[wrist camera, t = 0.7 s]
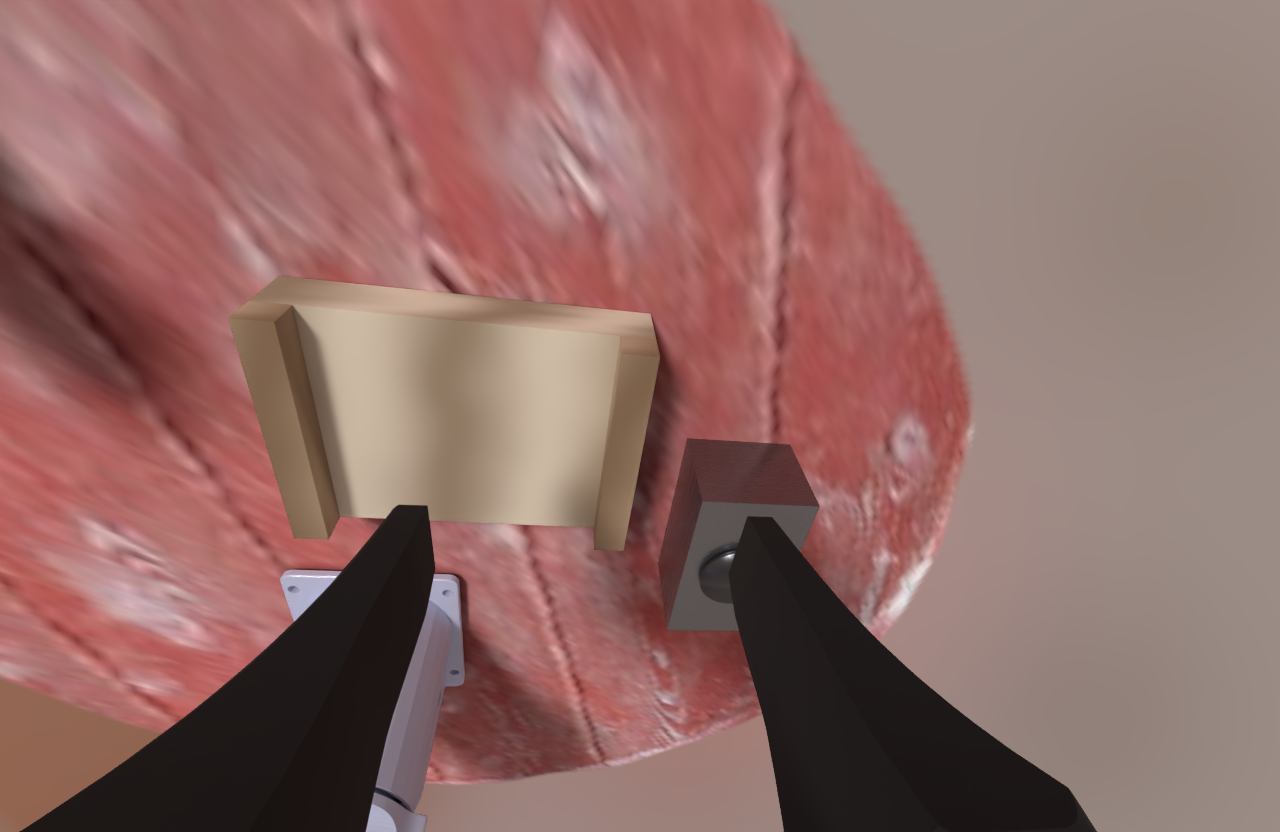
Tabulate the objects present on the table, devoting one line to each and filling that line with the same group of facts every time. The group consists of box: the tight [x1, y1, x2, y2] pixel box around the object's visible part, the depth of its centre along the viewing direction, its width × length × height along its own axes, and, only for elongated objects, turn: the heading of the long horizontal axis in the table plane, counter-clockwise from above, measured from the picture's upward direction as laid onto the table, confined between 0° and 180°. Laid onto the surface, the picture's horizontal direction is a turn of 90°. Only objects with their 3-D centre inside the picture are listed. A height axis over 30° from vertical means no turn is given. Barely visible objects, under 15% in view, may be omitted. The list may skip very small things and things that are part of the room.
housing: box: [658, 438, 820, 631], centre depth 25 cm, size 8×5×4 cm, turn 172°
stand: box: [228, 276, 660, 551], centre depth 20 cm, size 12×9×3 cm
